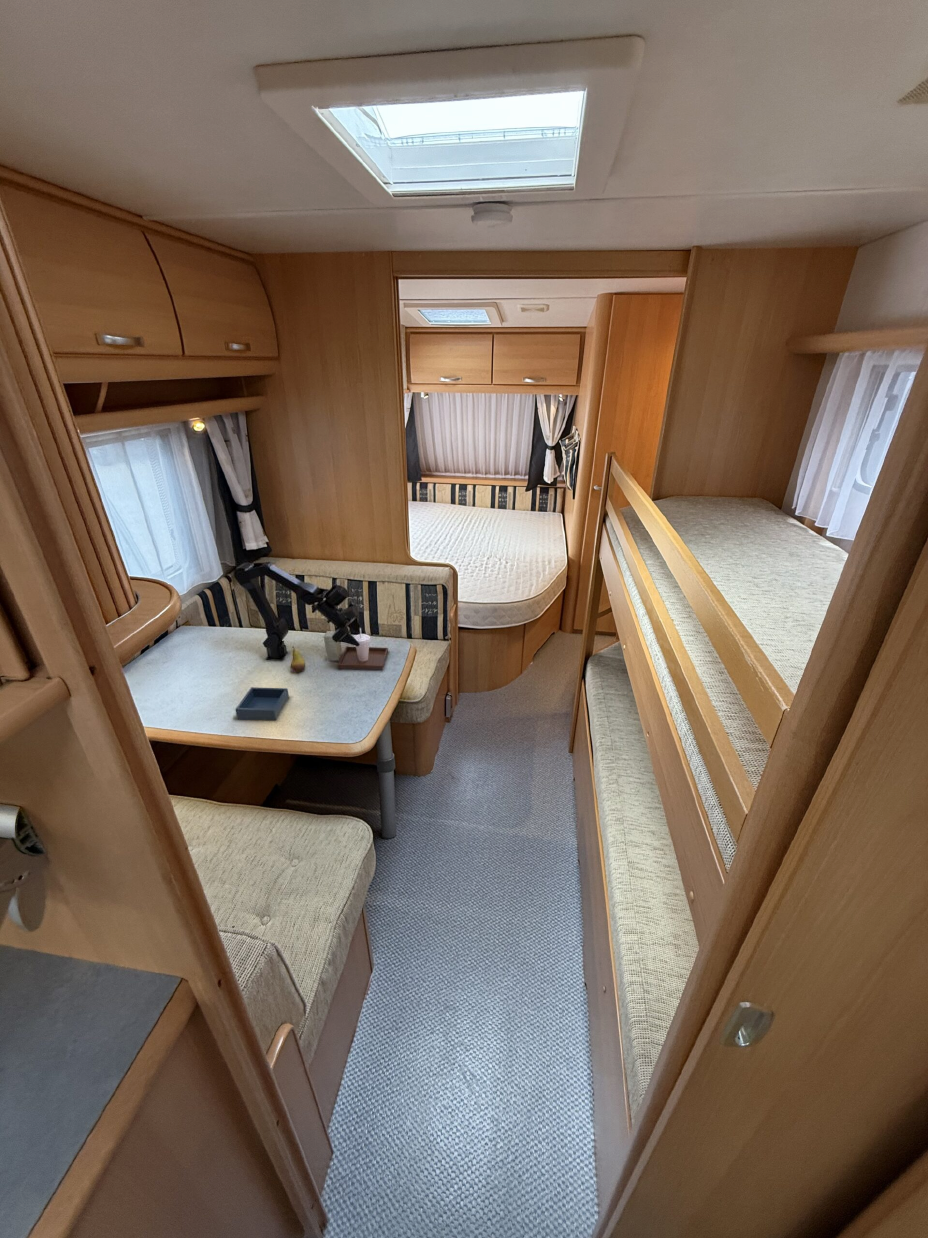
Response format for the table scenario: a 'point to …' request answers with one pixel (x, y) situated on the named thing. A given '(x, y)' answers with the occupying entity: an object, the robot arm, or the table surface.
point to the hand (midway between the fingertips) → (361, 639)
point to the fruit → (297, 661)
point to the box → (332, 647)
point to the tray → (373, 663)
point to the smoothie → (362, 646)
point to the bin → (262, 703)
